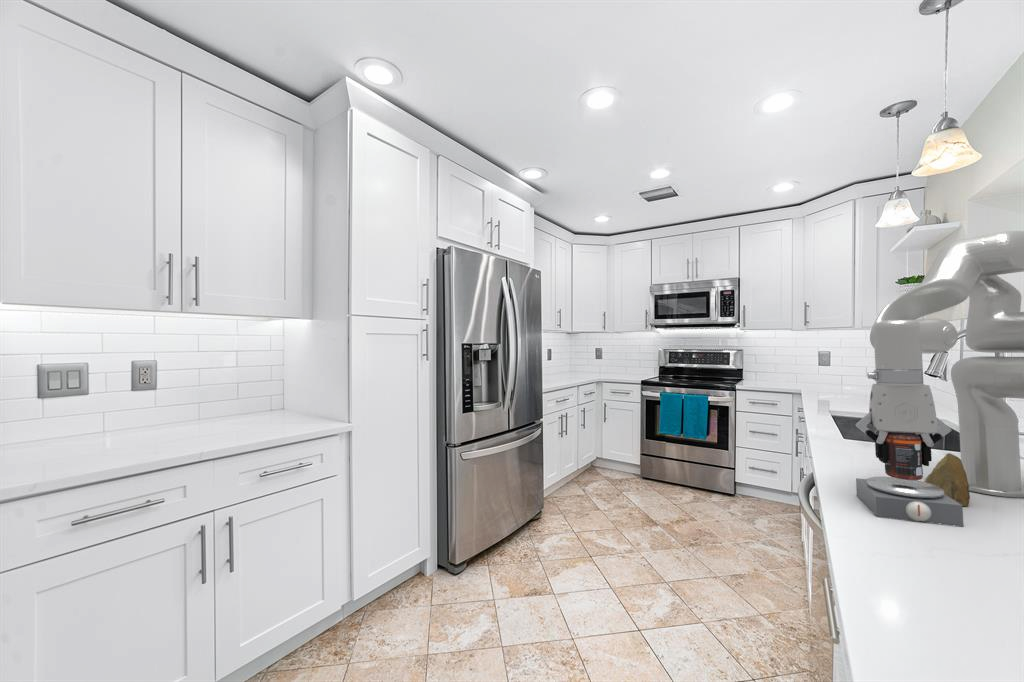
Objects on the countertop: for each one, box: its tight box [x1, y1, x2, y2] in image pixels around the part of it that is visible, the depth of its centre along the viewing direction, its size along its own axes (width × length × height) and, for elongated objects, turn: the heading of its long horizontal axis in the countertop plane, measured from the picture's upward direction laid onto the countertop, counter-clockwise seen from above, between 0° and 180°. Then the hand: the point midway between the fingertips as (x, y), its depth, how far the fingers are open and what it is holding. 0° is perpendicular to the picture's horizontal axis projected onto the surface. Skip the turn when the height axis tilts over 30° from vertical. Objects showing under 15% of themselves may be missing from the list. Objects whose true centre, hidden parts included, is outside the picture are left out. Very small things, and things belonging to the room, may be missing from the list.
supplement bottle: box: [884, 432, 924, 481], centre depth 91 cm, size 6×6×11 cm
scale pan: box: [866, 476, 944, 498], centre depth 91 cm, size 12×12×1 cm
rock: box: [923, 452, 971, 507], centre depth 97 cm, size 11×9×10 cm
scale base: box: [855, 477, 964, 528], centre depth 90 cm, size 14×13×4 cm
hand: (903, 462), depth 91 cm, fingers closed on supplement bottle, 6 cm apart
